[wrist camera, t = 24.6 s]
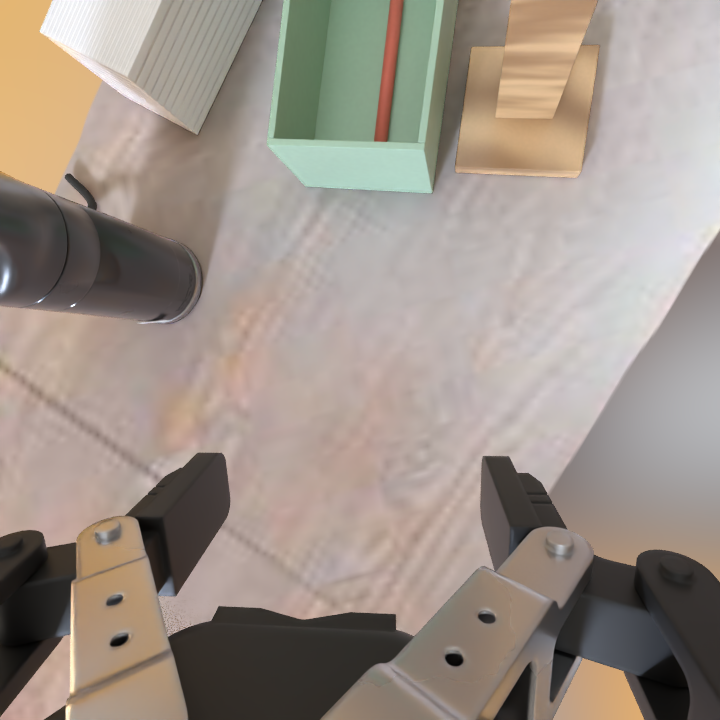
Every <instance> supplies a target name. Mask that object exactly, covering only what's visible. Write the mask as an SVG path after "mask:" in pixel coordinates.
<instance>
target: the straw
mask: <svg viewBox="0 0 720 720" xmlns="http://www.w3.org/2000/svg"><path fill="white" fill-rule="evenodd" d="M403 3H404V0H390V7H389V15H388V24H387V33H386V41H385V50H384V58H383V67H382V76H381V84H380V93H379V102H378V110H377V119H376V127H375V136H374V142H387V140H388V131H389V123H390V114H391V106H392V97H393V89H394V80H395V72H396V63H397V55H398V46H399V38H400V29H401V20H402V12H403Z"/></svg>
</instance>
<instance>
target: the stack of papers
mask: <svg viewBox="0 0 720 720" xmlns="http://www.w3.org/2000/svg"><path fill="white" fill-rule="evenodd" d="M261 2H262V0H52V3H51V5H50V8H49V10H48V12H47V15H46V17H45V19H44V22H43V24H42V27H41V29H40V32H41V33H42V34H43V35H45V36H46V37H47V38H49V39H50V40H51V41H53V42H54V43H55V44H56V45H58V46H59V47H60V48H62V49H63V50H64V51H66V52H67V53H68V54H69V55H71V56H72V57H73V58H75V59H76V60H77V61H79V62H80V63H81V64H83V65H84V66H85V67H87V68H88V69H89V70H91V71H92V72H93V73H94V74H96V75H97V76H99V77H100V78H101V79H102V80H104V81H105V82H106V83H107V84H109V85H110V86H112V87H113V88H114V89H115V90H117V91H118V92H119V93H121V94H122V95H123V96H125V97H126V98H128V99H130V100H132V101H134V102H136V103H138V104H140V105H141V106H143V107H145V108H147V109H149V110H151V111H153V112H155V113H157V114H158V115H160V116H162V117H164V118H166V119H168V120H170V121H172V122H174V123H175V124H177V125H179V126H181V127H183V128H185V129H187V130H189V131H191V132H192V133H194V134H196V135H198V133H199V131H200V129H201V127H202V125H203V123H204V120H205V118H206V116H207V114H208V112H209V110H210V108H211V106H212V104H213V102H214V100H215V98H216V96H217V93H218V91H219V89H220V87H221V85H222V83H223V81H224V79H225V77H226V75H227V73H228V71H229V68H230V66H231V64H232V62H233V60H234V58H235V56H236V54H237V52H238V50H239V48H240V46H241V44H242V41H243V39H244V37H245V35H246V33H247V31H248V29H249V27H250V25H251V23H252V21H253V19H254V16H255V14H256V12H257V10H258V8H259V6H260V4H261Z"/></svg>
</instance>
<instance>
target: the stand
mask: <svg viewBox="0 0 720 720" xmlns="http://www.w3.org/2000/svg"><path fill="white" fill-rule="evenodd" d="M597 2H598V0H511V5H510V12H509V19H508V26H507V34H506V41H505V46H493V47H471V52H470V60H469V67H468V75H467V82H466V89H465V97H464V104H463V111H462V119H461V126H460V133H459V141H458V148H457V155H456V163H455V172H456V173H478V174H501V175H523V176H546V177H569V178H577V177H578V176H579V174H580V173H581V170H582V163H583V157H584V150H585V143H586V136H587V130H588V123H589V116H590V109H591V102H592V96H593V89H594V82H595V75H596V69H597V62H598V55H599V48H600V45H581V44H582V41H583V39H584V36H585V34H586V31H587V28H588V26H589V23H590V21H591V18H592V15H593V13H594V10H595V7H596V5H597Z"/></svg>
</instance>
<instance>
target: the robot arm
mask: <svg viewBox="0 0 720 720" xmlns="http://www.w3.org/2000/svg"><path fill="white" fill-rule="evenodd" d="M65 179H66V180H67V181H68V182H69V183H70V184H71V185H72V186H73V187H74V188H75V189H76V190H77V191H78V192H79V193H80V194H81V195H82V196H83V197H84V198H85V200H86V201H87V203H88V207H86V206H83V205H80V204H78V203H75V202H73V201H70V200H67V199H65V198H62V197H60V196H57V195H54V194H52V193H49V192H47V191H44V190H42V189H39V188H36V187H34V186H31V185H29V184H26V183H24V182H21V181H19V180H16V179H15V178H13V177H11V176H9V175H7V174H5V173H3V172H1V171H0V306H3V307H14V308H24V309H33V310H43V311H54V312H64V313H73V314H83V315H92V316H101V317H111V318H120V319H130V320H138V321H147V322H141V323H139V324H146V323H158V324H169V323H173V322H176V321H178V320H180V319H182V318H184V317H185V316H186V315H187V314H188V313H189V312H190V311H191V310H192V309H193V307H194V306H195V304H196V302H197V301H198V298H199V295H200V292H201V286H202V275H201V269H200V266H199V263H198V261H197V259H196V257H195V256H194V254H193V253H192V252H191V250H189V249H188V248H187V247H186V246H185V245H183V244H181V243H179V242H177V241H174V240H172V239H169V238H164V237H162V236H159V235H157V234H154V233H152V232H149V231H147V230H144V229H142V228H139V227H137V226H134V225H132V224H130V223H127V222H125V221H122V220H120V219H117V218H115V217H112V216H109V215H107V214H104V213H101V212H98V211H96V209H97V205H96V202H95V200H94V198H93V197H92V195H91V194H90V193H89V191H88V190H87V189H86V188H85V187H84V186H83V185H82V184H80V183H79V182H78V181H77V180H76V179H75V178H74V177H73V176H72V175H71V174H66V175H65ZM229 508H230V492H229V484H228V476H227V468H226V460H225V457H224V455H223V454H222V453H197V454H196V455H195V456H194V457H193V458H192V459H191V460H190V461H189V462H188V463H187V464H186V465H185V466H184V467H183V468H179V469H178V470H176V471H174V472H172V473H170V474H168V475H167V476H165V477H164V478H163V479H162V480H161V481H160V482H159V483H158V484H157V485H156V487H154V488H153V489H152V490H151V491H150V492H149V493H148V495H146V496H145V497H144V498H143V499H142V500H141V501H140V502H139V503H138V504H137V505H136V506H134V507H133V508H132V509H131V510H130V511H129V512H128V513H127V514H126V515H125V516H117V517H111V518H107V519H104V520H101V521H99V522H97V523H95V524H93V525H91V526H89V527H88V528H86V529H85V530H84V531H82V532H81V533H80V535H79V536H78V538H77V540H76V543H70V544H65V545H59V546H53V547H47V548H46V544H45V540H44V536H43V534H42V533H41V532H39V531H35V530H27V531H20V532H15V533H12V534H8V535H6V536H3V537H1V538H0V717H1V715H2V714H3V713H4V711H5V710H6V709H7V708H8V706H9V705H10V704H11V703H12V701H13V700H14V699H15V698H16V696H17V695H18V694H19V693H20V691H21V690H22V689H23V688H24V686H25V685H26V684H27V683H28V681H29V680H30V679H31V678H32V676H33V675H34V674H35V672H36V671H37V670H38V669H39V667H40V666H41V665H42V664H43V662H44V661H45V660H46V659H47V657H48V656H49V655H50V654H51V652H52V651H53V650H54V649H55V647H56V646H57V645H58V644H59V642H60V641H61V640H62V638H63V636H65V635H70V634H71V660H70V697H69V698H68V699H67V703H66V705H65V706H64V707H62V708H61V709H59V710H58V711H56V712H55V713H53V714H52V715H50V716H49V717H47V718H46V719H44V720H553V718H554V716H555V714H556V712H557V709H558V708H559V706H560V703H561V702H562V699H563V697H564V695H565V693H566V691H567V689H568V687H569V685H570V683H571V681H572V679H573V677H574V675H575V673H576V671H577V669H578V667H579V665H580V663H581V661H582V658H585V659H588V660H591V661H594V662H597V663H600V664H603V665H607V666H610V667H613V668H616V669H619V670H622V671H624V673H625V676H626V679H627V681H628V683H629V685H630V688H631V690H632V692H633V694H634V697H635V699H636V701H637V704H638V706H639V708H640V710H641V713H642V715H643V717H644V720H720V582H719V581H718V580H717V578H716V577H715V576H714V575H713V574H712V573H711V572H710V571H709V570H708V569H707V568H706V567H704V566H703V565H702V564H700V563H698V562H697V561H695V560H693V559H691V558H689V557H686V556H684V555H681V554H678V553H674V552H670V551H665V550H648V551H645V552H643V553H641V554H640V555H639V556H638V558H637V562H636V566H631V565H627V564H623V563H618V562H614V561H610V560H606V559H603V558H601V557H598V556H596V555H594V551H593V548H592V547H591V545H590V544H589V542H588V541H587V540H586V539H584V538H583V537H581V536H580V535H578V534H576V533H574V532H572V531H569V530H567V528H566V526H565V524H564V522H563V521H562V519H561V517H560V515H559V514H558V512H557V510H556V508H555V506H554V505H553V504H552V501H551V499H550V498H549V496H548V495H547V492H546V490H545V489H544V487H543V485H542V483H541V482H540V481H538V480H537V479H536V478H534V477H533V476H532V475H530V474H529V473H517V472H516V470H515V468H514V466H513V464H512V462H511V460H510V458H509V456H483V458H482V471H481V501H480V508H481V520H482V526H483V529H484V533H485V537H486V540H487V544H488V548H489V551H490V555H491V559H492V563H493V566H494V570H495V571H493V570H491V569H489V568H487V567H485V566H482V567H480V568H478V569H477V570H476V571H475V572H474V573H473V574H472V575H471V576H470V577H469V578H468V580H467V581H466V582H465V583H464V584H463V585H462V586H461V587H460V588H459V589H458V590H457V591H456V592H455V594H454V595H453V596H452V597H451V598H450V599H449V600H448V601H447V602H446V603H445V604H444V605H443V606H442V607H441V609H440V610H439V611H438V612H437V613H436V614H435V615H434V616H433V617H432V618H431V619H430V620H429V621H428V623H427V624H426V625H425V626H424V627H423V628H422V629H421V630H420V631H419V632H418V633H417V634H416V635H415V636H412V635H409V634H407V633H405V632H402V631H398V630H396V614H375V613H353V612H350V613H344V614H338V615H332V616H326V617H319V618H313V619H306V620H301V619H297V618H293V617H290V616H286V615H283V614H279V613H276V612H272V611H269V610H265V609H262V608H244V607H222V606H219V607H218V609H217V611H216V613H215V615H214V617H213V619H212V621H209V622H205V623H201V624H197V625H194V626H191V627H188V628H186V629H183V630H181V631H179V632H177V633H174V634H173V635H171V636H169V637H168V635H167V631H166V627H165V623H164V619H163V615H162V611H161V607H160V603H159V599H158V596H176V595H177V594H178V592H179V591H180V589H181V587H182V586H183V584H184V583H185V581H186V580H187V578H188V577H189V575H190V574H191V572H192V570H193V569H194V567H195V566H196V564H197V563H198V561H199V560H200V558H201V557H202V555H203V553H204V552H205V550H206V549H207V547H208V546H209V544H210V543H211V541H212V540H213V538H214V537H215V535H216V533H217V532H218V530H219V529H220V527H221V526H222V524H223V523H224V521H225V520H226V518H227V516H228V513H229Z"/></svg>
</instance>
